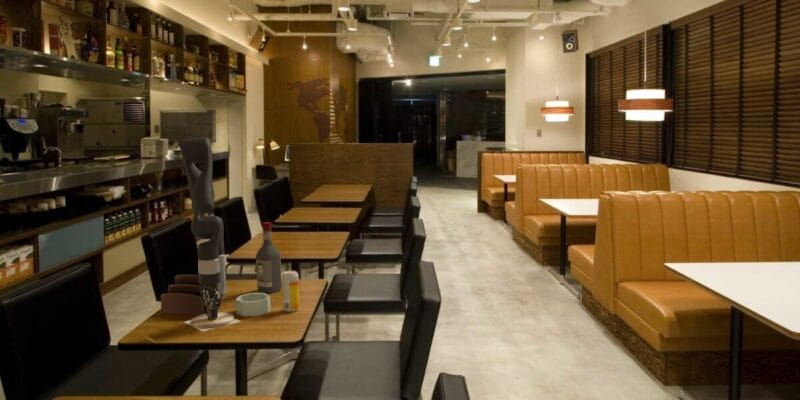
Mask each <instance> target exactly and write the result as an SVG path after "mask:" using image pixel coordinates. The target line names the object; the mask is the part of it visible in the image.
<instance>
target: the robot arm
mask: <svg viewBox="0 0 800 400" xmlns="http://www.w3.org/2000/svg"><path fill="white" fill-rule="evenodd" d="M179 143H180V145H179V146H180V147H179V149H180V155H181V158H182V159H181V160H182V162H183V167H184V170H185V173H186V176H187V184H188V190H189V195H190V199H191V203H192V208H193V217H192V220H191V225H190V229H191V230H190V231H191V233H192V234H193V236H195V237H198V238H199V239H200V240H206V241H202V242H201V243H199V244H198V245H197V258H198V263H197V267H198V268H197V269H198V270H197V271H198V275H199V284H200V285H202V286H203V287H202V288H200V294H201V298H202V302H203V304H204V303H205V306H206V315H207V305H210V306H211V318H213V319H214V318H217V317H218V310H217V308H218V307H219V308H220V307H221V304H222V298H223V295H225V294H227V280H226V279H227V277H226V276H227V275H226V262H225V261H226V258H225V246H224V244H225V243H224V239H225V238H224V221H223V218H222V217H219V216H218V215H209V216H205V214H208V213H211V212H213V211H214V209H215V198H216V197H215V195H216V194H215V189H214V184H213V149H212V143H211V141H210V138H208V137H206V136H203V137H202V136H201V137H191V138H184V139H182V140H181V141H180V142H179ZM195 163H203V167H202V169H201V170H200V169H199V168H198V167H197V166H196V164H195Z"/></svg>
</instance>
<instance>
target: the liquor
mask: <svg viewBox="0 0 800 400" xmlns="http://www.w3.org/2000/svg"><path fill="white" fill-rule="evenodd" d="M262 236H263V237H262V238H263V242H262V246H261V247H260V248H259V249H258V250H257V252H256V255H255V263H256V265H255V267H256V283H257V287H256V288H257V291H258V293H265V294H274V293H277V292H280V291H282V289H283V281H282V265H281V264H282V263H281V252H280V250H279V249H278V248H277V247H276V246H275V245H274V244H273V241H272V222H271V221H265V222H262Z"/></svg>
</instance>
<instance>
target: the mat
mask: <svg viewBox="0 0 800 400" xmlns="http://www.w3.org/2000/svg"><path fill="white" fill-rule="evenodd" d="M191 320H192V319H189V320H186V321H184V323H185V324H187V325H188V326H191ZM240 322H242V321H241V320H239V319H237V318H235V317H234V320H233V322H231V323H230V324H227V325H225V326H229V325H233V324H236V323H240ZM225 326H224V327H225ZM191 327H192V328H195V327H193V326H191ZM221 327H223V326H221ZM221 327H220V328H221ZM218 328H219V327H216V328H195V329H197V330H198V331H200V332H206V331H210V330H213V329H218Z"/></svg>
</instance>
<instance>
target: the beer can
mask: <svg viewBox="0 0 800 400" xmlns="http://www.w3.org/2000/svg"><path fill="white" fill-rule="evenodd" d="M281 280H282V297H283V310H284V311H285V312H287V313H289V312H290V313H291V312H293V313H294V312H297V311H299V309H300V307H301V306H300V304H301V303H300V285H299V280H300V279H299V274H298V271H296V270H286V271H283V272H282V274H281Z"/></svg>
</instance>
